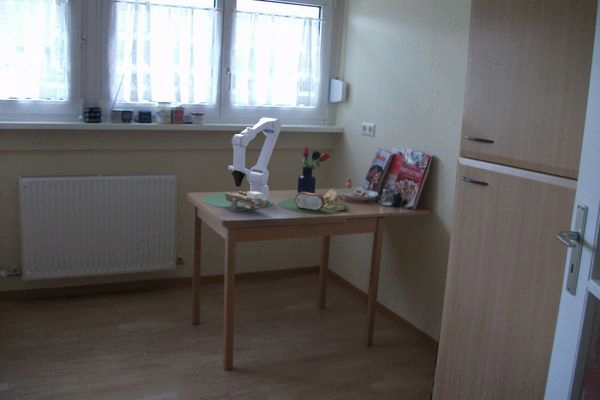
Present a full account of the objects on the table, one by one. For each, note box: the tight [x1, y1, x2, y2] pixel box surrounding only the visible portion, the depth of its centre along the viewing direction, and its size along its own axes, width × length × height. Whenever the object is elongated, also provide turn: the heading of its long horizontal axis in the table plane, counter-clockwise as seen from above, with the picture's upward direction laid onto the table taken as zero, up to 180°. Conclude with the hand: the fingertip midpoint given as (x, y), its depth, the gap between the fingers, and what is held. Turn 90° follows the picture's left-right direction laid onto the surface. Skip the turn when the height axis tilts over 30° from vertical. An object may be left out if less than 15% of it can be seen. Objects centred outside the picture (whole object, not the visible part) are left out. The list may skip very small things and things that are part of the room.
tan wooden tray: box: [224, 190, 269, 207], centre depth 292 cm, size 10×22×4 cm, turn 43°
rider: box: [246, 190, 263, 201], centre depth 286 cm, size 5×6×4 cm
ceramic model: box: [322, 188, 345, 211], centre depth 310 cm, size 14×11×10 cm
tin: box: [294, 191, 325, 211], centre depth 303 cm, size 15×3×8 cm, turn 71°
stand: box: [228, 198, 259, 213], centre depth 293 cm, size 14×5×6 cm, turn 133°
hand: (238, 186), depth 299 cm, fingers closed
